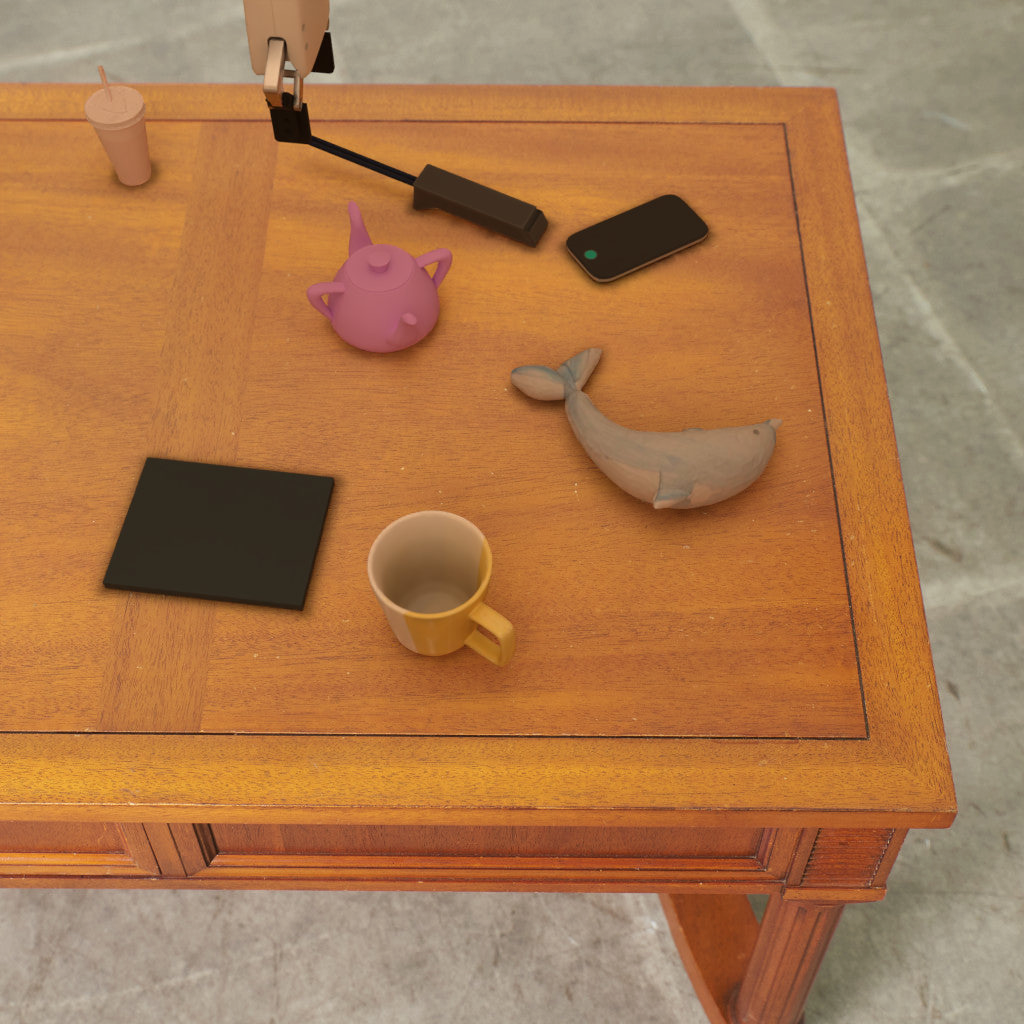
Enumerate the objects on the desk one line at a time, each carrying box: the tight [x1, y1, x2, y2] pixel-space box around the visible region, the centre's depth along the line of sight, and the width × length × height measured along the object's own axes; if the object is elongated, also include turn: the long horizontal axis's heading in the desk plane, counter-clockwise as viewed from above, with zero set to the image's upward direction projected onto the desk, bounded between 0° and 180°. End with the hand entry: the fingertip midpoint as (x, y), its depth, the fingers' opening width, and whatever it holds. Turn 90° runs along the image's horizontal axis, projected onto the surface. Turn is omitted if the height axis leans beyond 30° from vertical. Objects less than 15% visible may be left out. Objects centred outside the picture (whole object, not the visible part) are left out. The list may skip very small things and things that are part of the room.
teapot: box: [305, 200, 453, 354], centre depth 128 cm, size 12×14×9 cm
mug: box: [366, 510, 517, 668], centre depth 107 cm, size 14×10×10 cm
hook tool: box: [307, 134, 549, 248], centre depth 141 cm, size 4×4×30 cm
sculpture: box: [509, 347, 784, 510], centre depth 123 cm, size 18×8×25 cm
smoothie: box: [83, 64, 153, 187], centre depth 138 cm, size 6×6×14 cm
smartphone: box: [565, 194, 710, 283], centre depth 138 cm, size 8×1×15 cm
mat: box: [102, 456, 336, 612], centre depth 117 cm, size 18×14×1 cm
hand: (305, 105), depth 114 cm, fingers open, 9 cm apart
